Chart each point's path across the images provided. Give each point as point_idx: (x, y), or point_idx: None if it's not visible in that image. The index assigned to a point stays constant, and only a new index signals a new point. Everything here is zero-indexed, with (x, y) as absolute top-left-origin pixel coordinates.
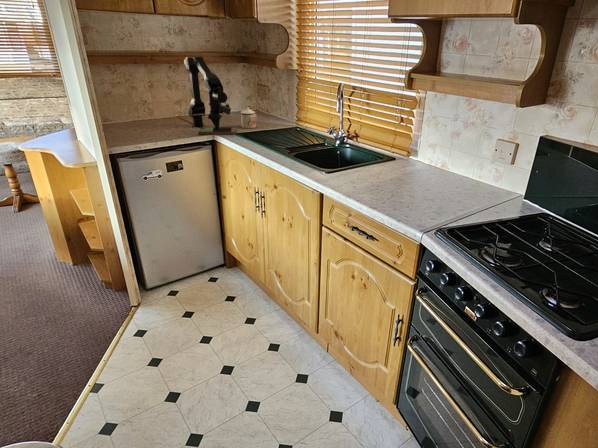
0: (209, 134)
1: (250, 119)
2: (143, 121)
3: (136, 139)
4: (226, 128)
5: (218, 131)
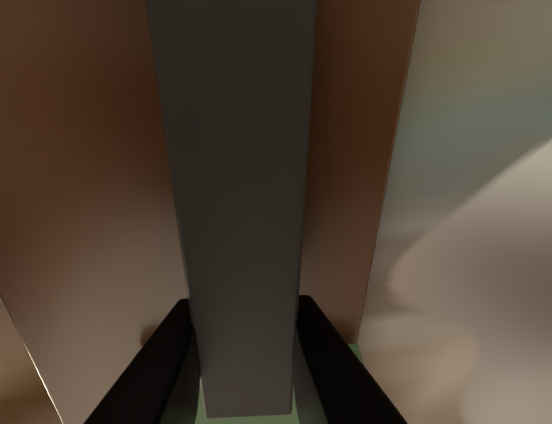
0: None
1: None
2: None
3: None
4: (310, 77)
5: None
